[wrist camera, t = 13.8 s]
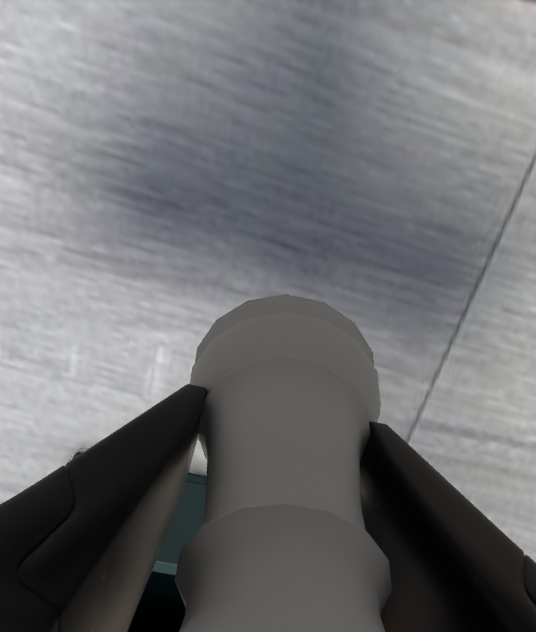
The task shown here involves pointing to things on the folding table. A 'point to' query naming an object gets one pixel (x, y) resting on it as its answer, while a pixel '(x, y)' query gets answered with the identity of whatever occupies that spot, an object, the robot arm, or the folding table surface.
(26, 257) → the folding table surface
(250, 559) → the rook chess piece
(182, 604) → the bin
